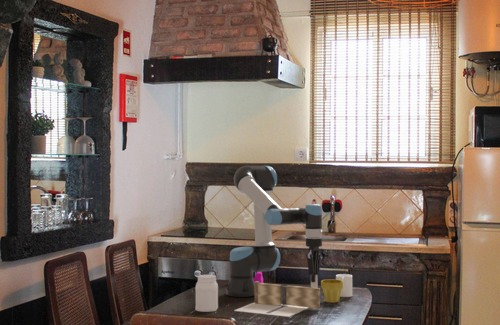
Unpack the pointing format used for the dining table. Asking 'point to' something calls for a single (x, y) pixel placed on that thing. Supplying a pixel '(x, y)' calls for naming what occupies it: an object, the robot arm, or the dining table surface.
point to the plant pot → (332, 289)
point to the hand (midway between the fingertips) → (314, 288)
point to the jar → (206, 293)
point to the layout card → (272, 309)
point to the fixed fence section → (267, 293)
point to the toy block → (258, 277)
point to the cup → (345, 284)
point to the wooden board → (301, 296)
